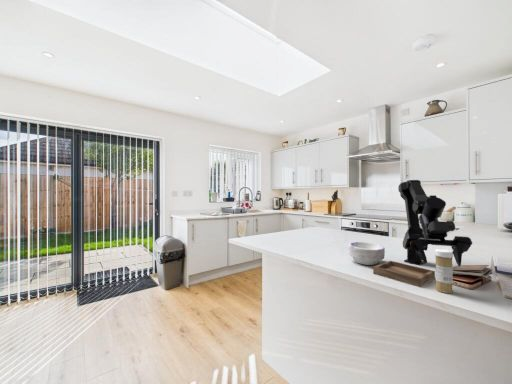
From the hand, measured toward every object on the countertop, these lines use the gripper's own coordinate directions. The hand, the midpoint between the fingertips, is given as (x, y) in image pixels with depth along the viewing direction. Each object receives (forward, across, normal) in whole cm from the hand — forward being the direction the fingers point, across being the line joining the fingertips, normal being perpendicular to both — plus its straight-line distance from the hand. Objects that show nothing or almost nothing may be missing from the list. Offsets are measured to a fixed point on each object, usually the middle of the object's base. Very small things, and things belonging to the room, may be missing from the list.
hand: (442, 264), depth 78 cm
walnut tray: (-1, -9, +13) cm, 16 cm away
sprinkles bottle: (+7, 0, +6) cm, 9 cm away
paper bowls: (-12, -21, +24) cm, 34 cm away
